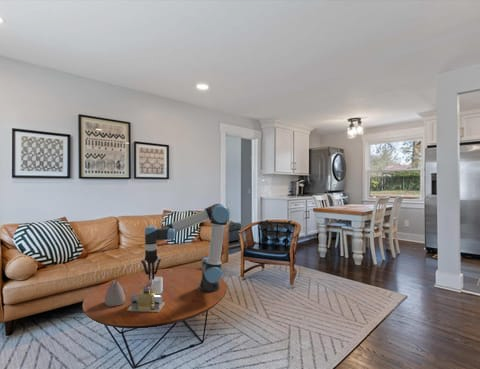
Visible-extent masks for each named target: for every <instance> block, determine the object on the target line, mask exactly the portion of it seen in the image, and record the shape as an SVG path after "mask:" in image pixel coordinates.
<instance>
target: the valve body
mask: <svg viewBox="0 0 480 369" xmlns="http://www.w3.org/2000/svg"><path fill="white" fill-rule="evenodd" d="M130 302H131V305H130V306H128V308H127V309H126V310H127V312H144V313H145V312H147V313H159V312H160V311H161V309H162V308H163V306H164V305H165V304H166V302H165V301H163V295H162V294H158V295H156V294H155V289H151V288H150V292H146V293H145V292H143V289H142V290H141V291H140V292H138V293H137V294H132V295H131V296H130Z"/></svg>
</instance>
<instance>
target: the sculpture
mask: <svg viewBox="0 0 480 369" xmlns="http://www.w3.org/2000/svg"><path fill="white" fill-rule="evenodd" d="M124 292H125V291H124V290H123V288H122V286H121V284H120V283H119V281H115V280H114V279H113V280H112V281H111V283H110V284H109V286H108V288H107V291H106V292H105V293H106V294H105V297H104V303H105V305H106V307H111V308H113V307H119V306H122V305H124V304H125V301H126V295H125V293H124Z"/></svg>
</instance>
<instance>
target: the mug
mask: <svg viewBox="0 0 480 369" xmlns="http://www.w3.org/2000/svg"><path fill="white" fill-rule="evenodd" d="M163 283H164V281H163V277H162V276H154V280H153V284H152V285H151V287H150V289H155V294H156V295H162V294H163V286H164V285H163Z"/></svg>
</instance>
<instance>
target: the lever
mask: <svg viewBox="0 0 480 369" xmlns="http://www.w3.org/2000/svg"><path fill="white" fill-rule="evenodd" d="M142 287H143V288H142V290H143V292H145V293H146V292H150V289H151V285H150V280H149V279H148V280H147V282H146V284H145V286H142Z"/></svg>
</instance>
